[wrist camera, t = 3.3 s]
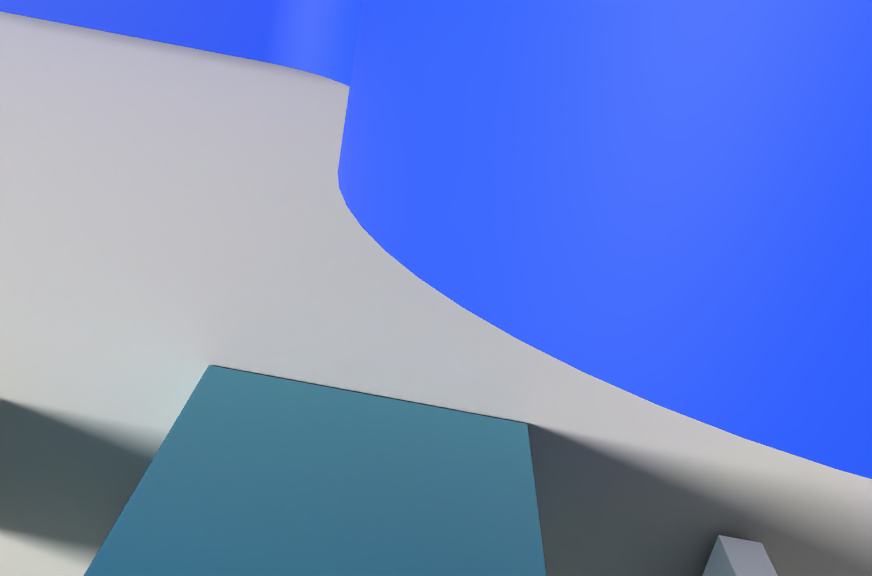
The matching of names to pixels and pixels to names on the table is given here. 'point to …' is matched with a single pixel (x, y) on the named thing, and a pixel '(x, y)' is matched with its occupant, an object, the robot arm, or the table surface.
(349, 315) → the table surface
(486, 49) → the bracket
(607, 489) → the table surface
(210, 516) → the teal block
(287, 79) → the table surface
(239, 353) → the table surface
